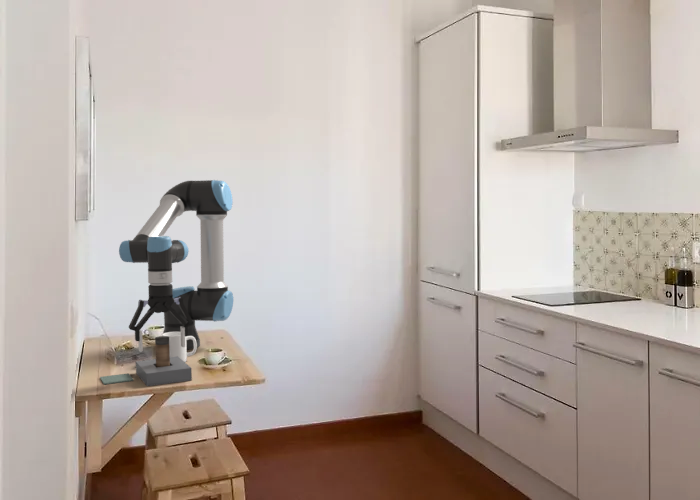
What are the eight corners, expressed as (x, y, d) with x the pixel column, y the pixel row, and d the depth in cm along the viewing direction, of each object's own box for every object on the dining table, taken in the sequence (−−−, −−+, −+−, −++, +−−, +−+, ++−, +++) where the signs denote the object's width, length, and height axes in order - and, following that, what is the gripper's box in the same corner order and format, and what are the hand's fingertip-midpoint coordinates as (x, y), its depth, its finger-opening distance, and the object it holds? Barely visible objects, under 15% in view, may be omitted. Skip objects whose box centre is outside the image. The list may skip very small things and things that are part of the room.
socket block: (136, 373, 228) (135, 361, 228) (178, 367, 235) (177, 356, 234) (147, 386, 212) (146, 373, 212) (191, 380, 219) (191, 367, 218)
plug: (155, 376, 224) (153, 336, 223) (168, 374, 226) (167, 335, 225) (157, 379, 220) (156, 339, 219) (171, 377, 223) (170, 338, 221)
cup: (161, 360, 245) (160, 332, 245) (195, 357, 250) (194, 329, 249) (164, 365, 238) (163, 337, 237) (199, 362, 242) (198, 334, 242)
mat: (100, 378, 222) (99, 376, 222) (128, 374, 227) (128, 373, 226) (104, 384, 214) (104, 383, 214) (133, 380, 219) (133, 379, 219)
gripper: (122, 287, 212) (124, 355, 213) (201, 282, 223) (203, 346, 225) (118, 285, 218) (120, 350, 220) (195, 280, 230) (196, 342, 232)
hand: (162, 348), depth 222 cm, fingers open, 13 cm apart
